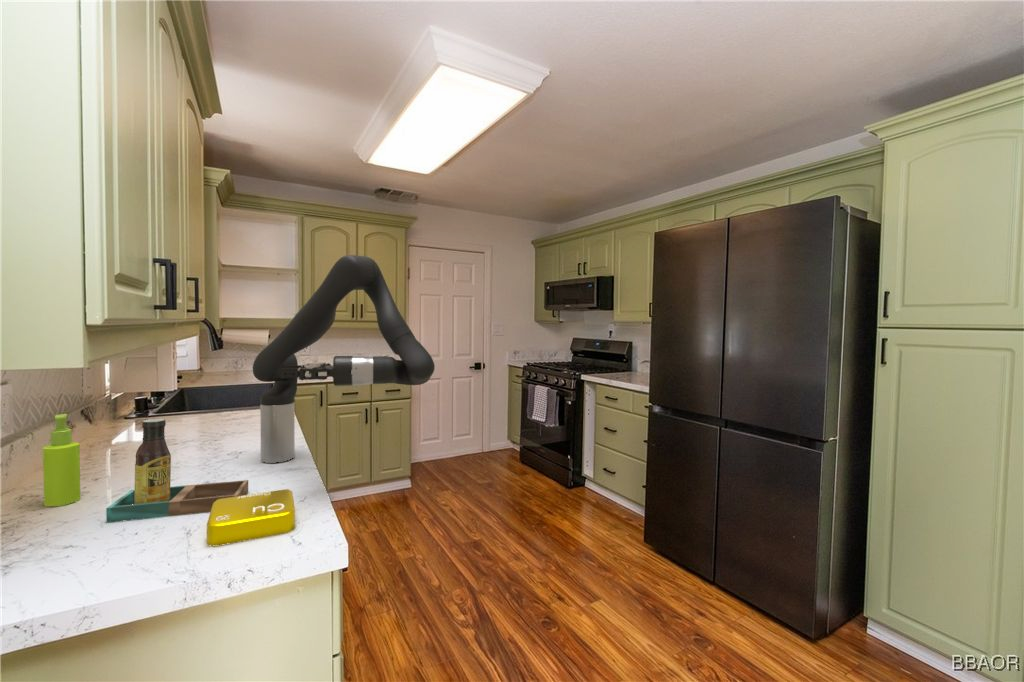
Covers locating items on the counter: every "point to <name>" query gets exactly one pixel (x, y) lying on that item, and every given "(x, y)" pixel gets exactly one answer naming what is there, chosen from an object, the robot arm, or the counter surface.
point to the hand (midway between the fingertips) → (282, 371)
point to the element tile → (250, 517)
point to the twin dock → (176, 501)
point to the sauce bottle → (152, 465)
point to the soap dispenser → (61, 466)
